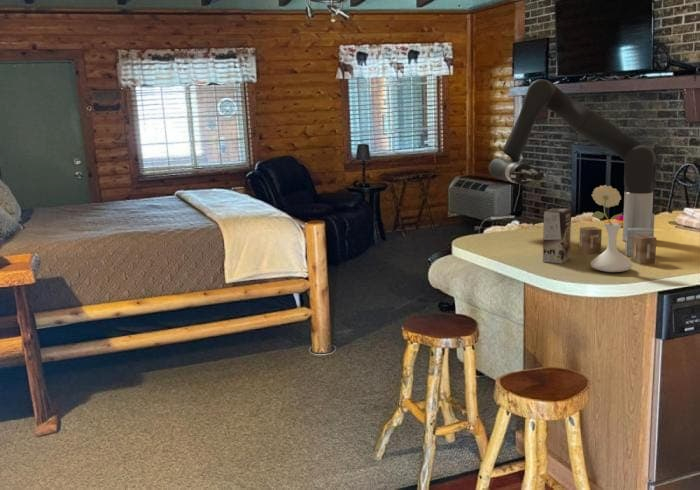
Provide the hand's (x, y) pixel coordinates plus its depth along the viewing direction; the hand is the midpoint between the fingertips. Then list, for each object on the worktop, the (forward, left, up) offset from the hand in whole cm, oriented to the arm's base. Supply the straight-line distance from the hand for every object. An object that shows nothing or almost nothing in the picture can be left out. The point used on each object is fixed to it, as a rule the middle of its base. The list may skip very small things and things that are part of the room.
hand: (538, 177), depth 223 cm
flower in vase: (-8, +32, -25) cm, 42 cm away
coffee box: (0, +16, -25) cm, 30 cm away
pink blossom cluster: (-49, -35, -25) cm, 65 cm away
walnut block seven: (-15, +8, -25) cm, 30 cm away
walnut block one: (-23, +26, -25) cm, 43 cm away
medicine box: (-27, +17, -25) cm, 41 cm away
